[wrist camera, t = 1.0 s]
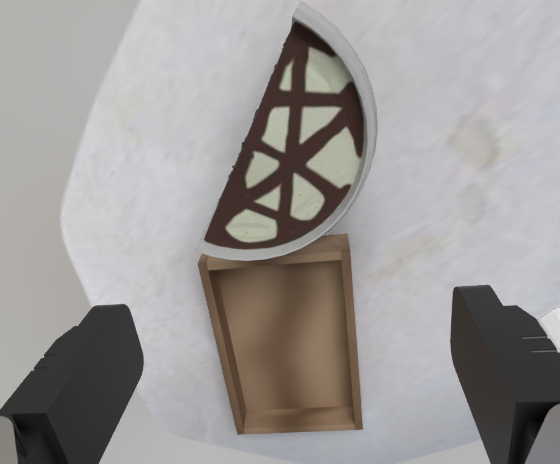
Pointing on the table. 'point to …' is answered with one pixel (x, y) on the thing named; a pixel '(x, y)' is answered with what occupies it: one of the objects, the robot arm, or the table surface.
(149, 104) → the table surface
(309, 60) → the food container
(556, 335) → the white cup
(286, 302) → the walnut tray
